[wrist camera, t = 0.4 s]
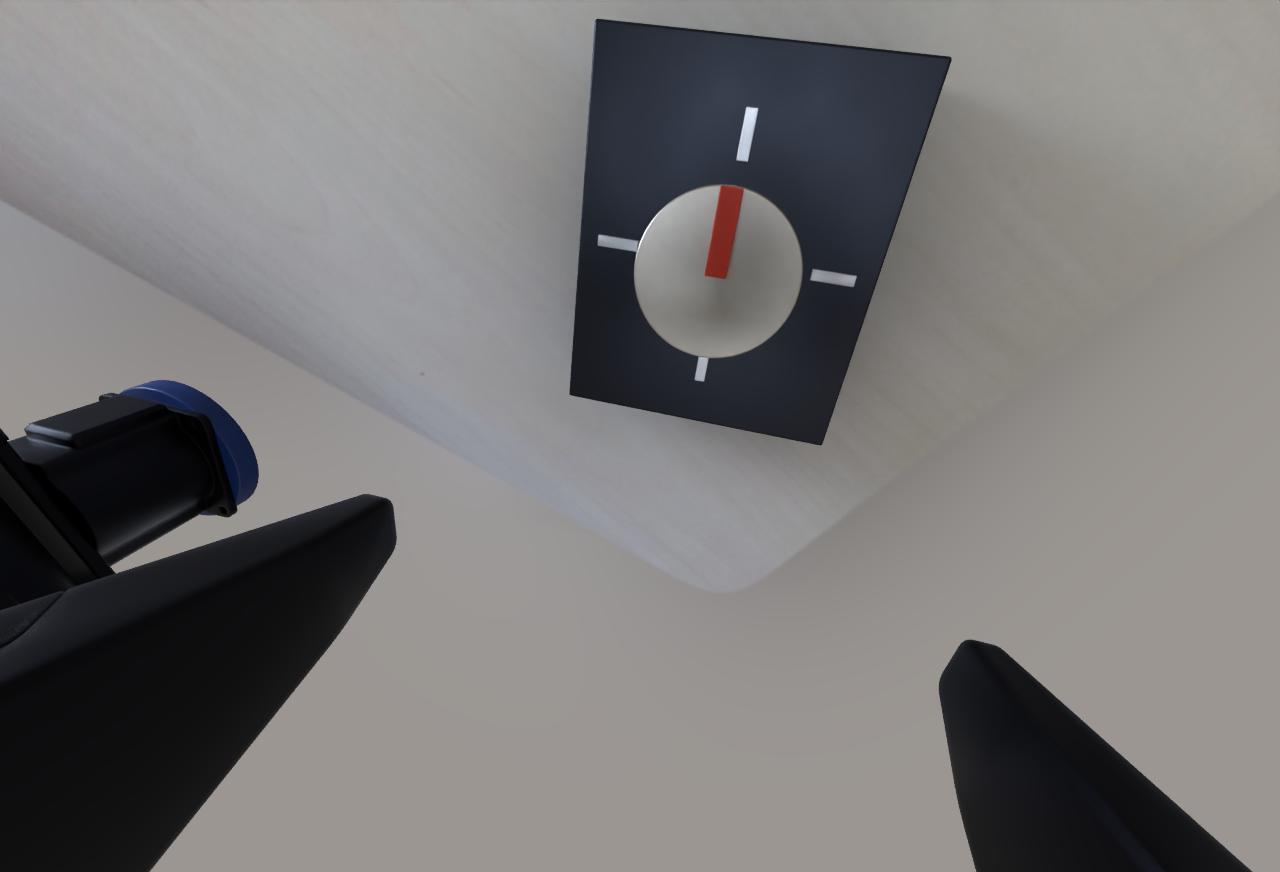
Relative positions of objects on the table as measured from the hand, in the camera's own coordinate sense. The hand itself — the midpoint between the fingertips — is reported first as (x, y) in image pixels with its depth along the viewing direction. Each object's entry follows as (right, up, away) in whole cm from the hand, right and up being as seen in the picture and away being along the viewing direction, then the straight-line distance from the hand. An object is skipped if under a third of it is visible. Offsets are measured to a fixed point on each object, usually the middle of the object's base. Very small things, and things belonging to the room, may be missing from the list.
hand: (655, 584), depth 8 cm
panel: (+3, +10, +12) cm, 15 cm away
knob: (+3, +8, +9) cm, 12 cm away
